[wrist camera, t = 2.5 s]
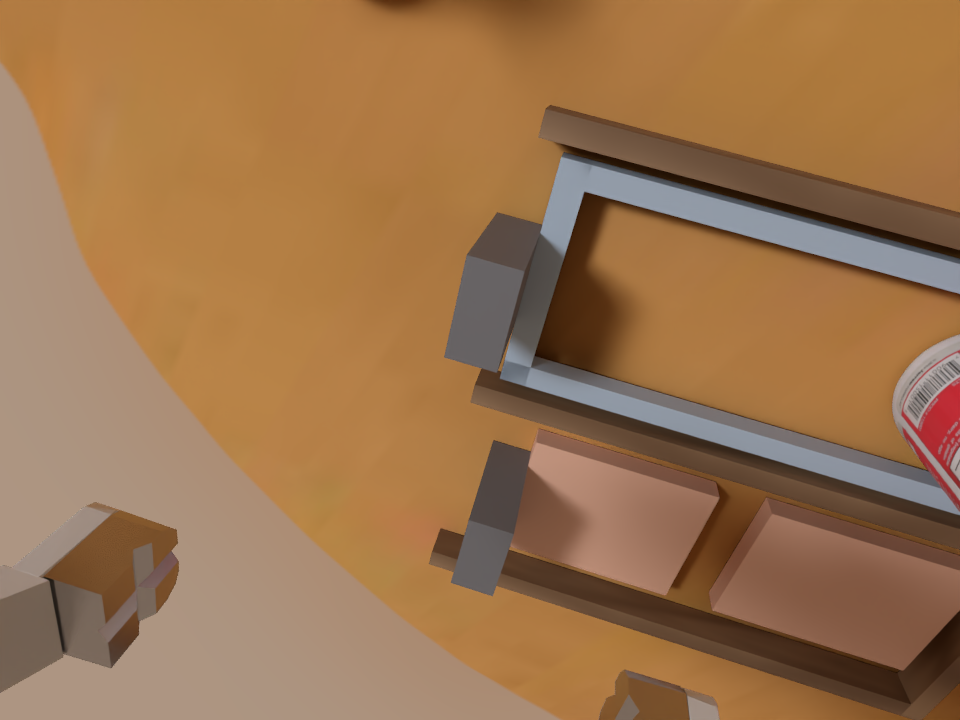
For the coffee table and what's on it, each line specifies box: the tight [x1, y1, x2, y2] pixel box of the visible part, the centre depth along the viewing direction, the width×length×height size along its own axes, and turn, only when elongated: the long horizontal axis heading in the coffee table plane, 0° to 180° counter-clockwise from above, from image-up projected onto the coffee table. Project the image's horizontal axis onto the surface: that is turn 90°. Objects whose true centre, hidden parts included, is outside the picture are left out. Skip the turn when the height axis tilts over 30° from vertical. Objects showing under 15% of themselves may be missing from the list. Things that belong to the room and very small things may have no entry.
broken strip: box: [451, 429, 960, 671], centre depth 28 cm, size 7×24×6 cm, turn 77°
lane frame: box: [429, 105, 960, 720], centre depth 27 cm, size 24×27×2 cm
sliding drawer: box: [444, 152, 960, 515], centre depth 23 cm, size 10×26×6 cm, turn 78°
